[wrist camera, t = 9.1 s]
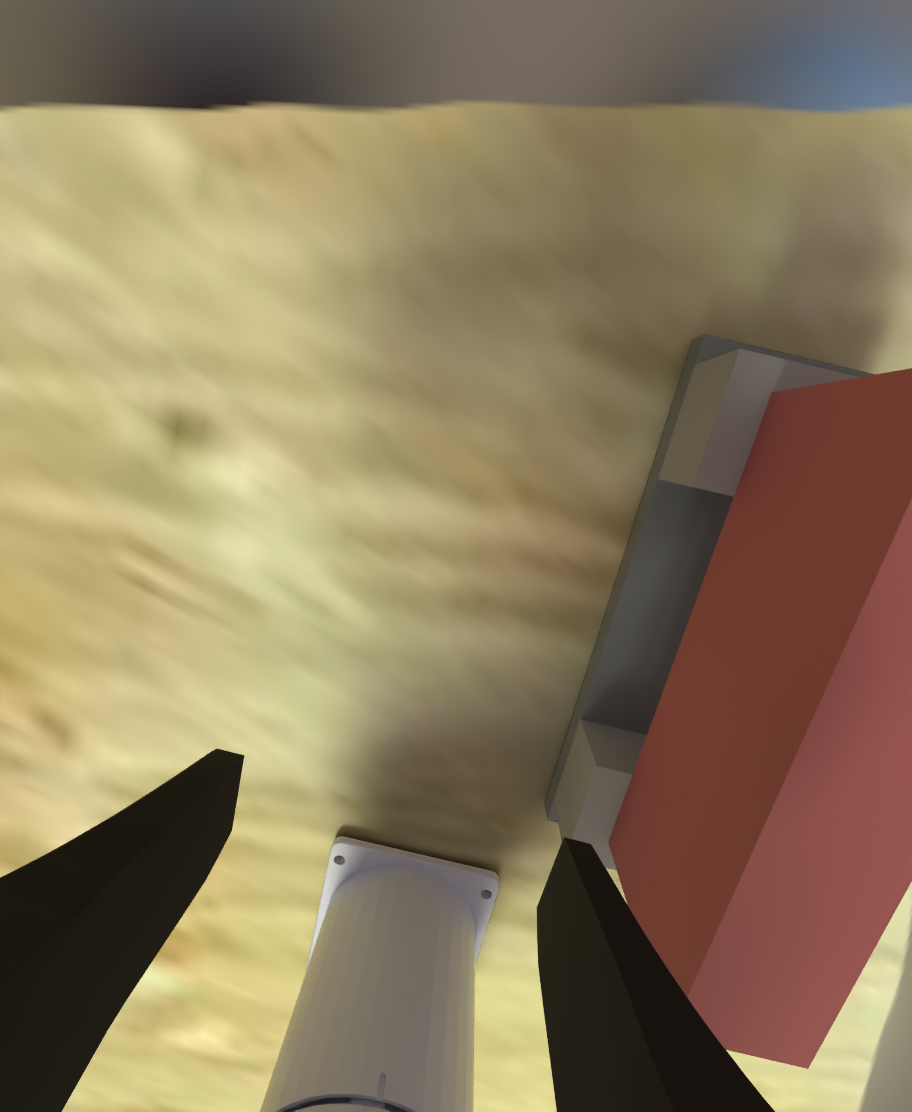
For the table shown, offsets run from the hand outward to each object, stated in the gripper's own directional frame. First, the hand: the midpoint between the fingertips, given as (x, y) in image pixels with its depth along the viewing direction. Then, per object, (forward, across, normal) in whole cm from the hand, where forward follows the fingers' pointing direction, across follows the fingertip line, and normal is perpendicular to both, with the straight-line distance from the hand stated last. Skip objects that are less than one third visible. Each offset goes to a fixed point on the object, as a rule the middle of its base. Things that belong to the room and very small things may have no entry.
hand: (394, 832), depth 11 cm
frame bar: (+6, -9, -4) cm, 12 cm away
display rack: (+10, -9, -4) cm, 14 cm away
